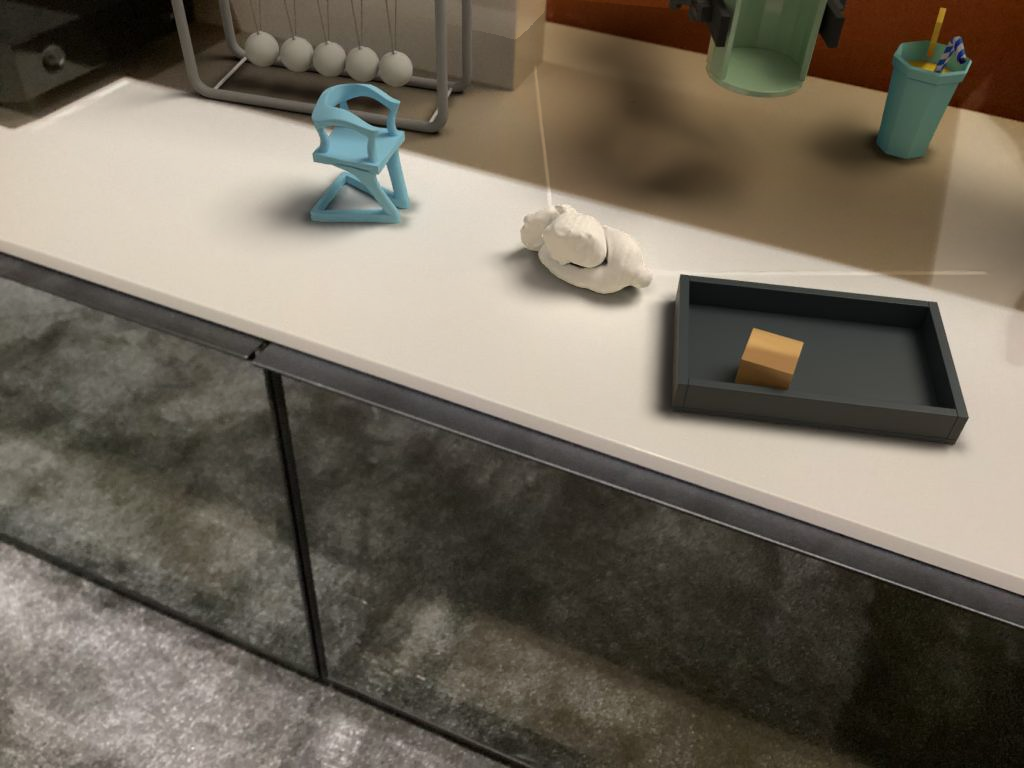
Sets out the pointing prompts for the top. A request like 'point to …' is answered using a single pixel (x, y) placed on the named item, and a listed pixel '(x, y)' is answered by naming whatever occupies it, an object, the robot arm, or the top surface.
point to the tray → (818, 359)
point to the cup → (920, 92)
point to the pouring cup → (766, 46)
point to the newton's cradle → (336, 63)
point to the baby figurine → (585, 250)
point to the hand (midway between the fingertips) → (780, 32)
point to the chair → (359, 155)
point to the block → (768, 360)
